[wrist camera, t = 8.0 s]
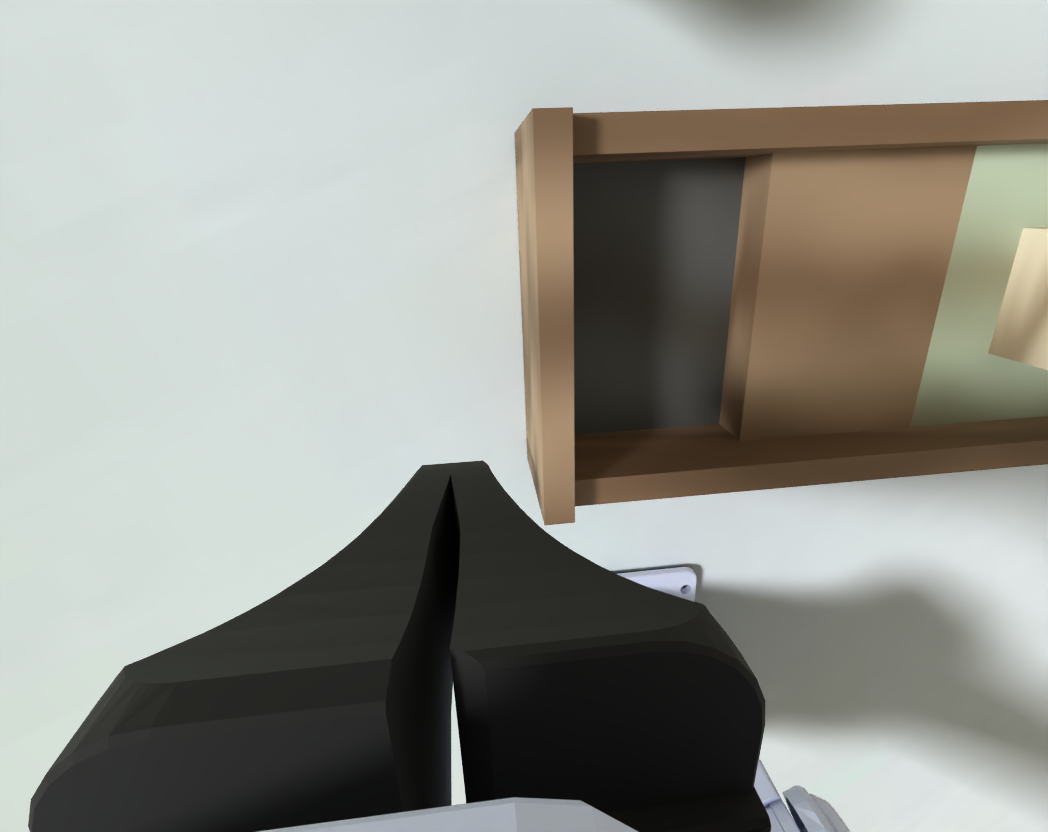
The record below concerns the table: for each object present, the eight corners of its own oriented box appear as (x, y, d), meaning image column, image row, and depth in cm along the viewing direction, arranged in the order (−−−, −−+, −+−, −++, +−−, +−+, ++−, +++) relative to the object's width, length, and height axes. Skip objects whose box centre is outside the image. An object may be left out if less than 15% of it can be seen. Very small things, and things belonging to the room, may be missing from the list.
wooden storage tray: (1038, 417, 24) (1172, 467, 20) (527, 458, 23) (544, 525, 18) (1138, 113, 20) (1341, 86, 15) (514, 132, 18) (532, 108, 13)
